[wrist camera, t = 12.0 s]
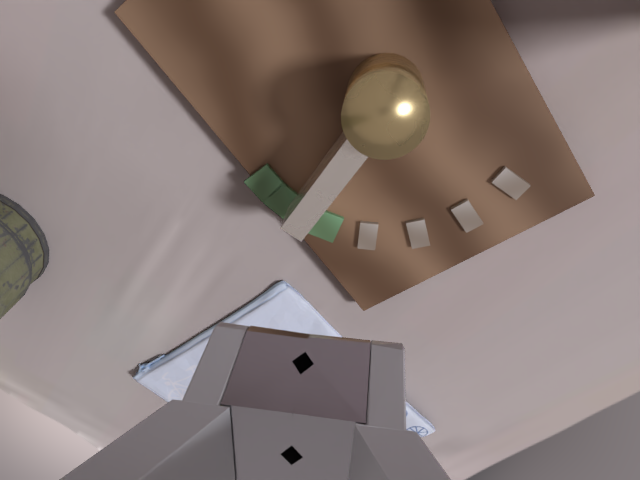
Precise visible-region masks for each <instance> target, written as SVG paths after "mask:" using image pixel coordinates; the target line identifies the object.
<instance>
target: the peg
mask: <svg viewBox="0 0 640 480" xmlns="http://www.w3.org/2000/svg"><path fill="white" fill-rule="evenodd" d="M341 124H342V129H343V132H342V134H341V135H340V137H339V138H338V139H337V141H336V142H335V143H334V145H333V146H332V147H331V149H330V150H329V151H328V153H327V154H326V156H325V157H324V158H323V160H322V161H321V162H320V164H319V165H318V166H317V168H316V169H315V171H314V172H313V173H312V175H311V176H310V177H309V179H308V180H307V181H306V183H305V184H304V186H303V187H302V188H301V190H300V191H299V192H298V194H297V195H296V196H295V198H294V199H293V200H292V202H291V203H290V205H289V206H288V209H287V212H286V214H285V217H284V220H283V223H282V225H281V228H280V229H282V230H283V231H285V232H286V233H288V234H290V235H291V236H293V237H294V238H296V239H298V240H299V241H301V242H302V240H303V239H304V238H305V236H306V235H307V234H308V233H309V231H310V230H311V229H312V228H313V226H314V225H315V224H316V223H317V221H318V220H319V219H320V217H321V216H322V215H323V214H324V212H325V211H326V210H327V209H328V207H329V206H330V205H331V203H332V202H333V201H334V200H335V198H336V197H337V196H338V195H339V193H340V192H341V191H342V190H343V188H344V187H345V186H346V184H347V183H348V182H349V181H350V179H351V178H352V177H353V176H354V174H355V173H356V172H357V171H358V169H359V168H360V167H361V165H362V164H363V163H364V162H365V160H366V159H367V158H368V157H370V158H374V159H379V160H389V159H395V158H399V157H402V156H404V155H406V154H408V153H409V152H411V151H412V150H413V149H415V148H416V147H417V146H418V145H419V144H420V143H421V141H422V140H423V138H424V137H425V135H426V133H427V130H428V128H429V124H430V106H429V102H428V98H427V94H426V90H425V86H424V82H423V78H422V75H421V73H420V71H419V70H418V68H417V67H416V66H415V65H414V63H412V62H411V61H410V60H409V59H407V58H406V57H404V56H401V55H398V54H395V53H380V54H376V55H373V56H370V57H369V58H367V59H365V60H364V61H362V62H361V63H360V64H359V65H358V66H357V67H356V69H355V70H354V72H353V73H352V75H351V77H350V80H349V83H348V87H347V91H346V95H345V98H344V102H343V106H342V111H341Z"/></svg>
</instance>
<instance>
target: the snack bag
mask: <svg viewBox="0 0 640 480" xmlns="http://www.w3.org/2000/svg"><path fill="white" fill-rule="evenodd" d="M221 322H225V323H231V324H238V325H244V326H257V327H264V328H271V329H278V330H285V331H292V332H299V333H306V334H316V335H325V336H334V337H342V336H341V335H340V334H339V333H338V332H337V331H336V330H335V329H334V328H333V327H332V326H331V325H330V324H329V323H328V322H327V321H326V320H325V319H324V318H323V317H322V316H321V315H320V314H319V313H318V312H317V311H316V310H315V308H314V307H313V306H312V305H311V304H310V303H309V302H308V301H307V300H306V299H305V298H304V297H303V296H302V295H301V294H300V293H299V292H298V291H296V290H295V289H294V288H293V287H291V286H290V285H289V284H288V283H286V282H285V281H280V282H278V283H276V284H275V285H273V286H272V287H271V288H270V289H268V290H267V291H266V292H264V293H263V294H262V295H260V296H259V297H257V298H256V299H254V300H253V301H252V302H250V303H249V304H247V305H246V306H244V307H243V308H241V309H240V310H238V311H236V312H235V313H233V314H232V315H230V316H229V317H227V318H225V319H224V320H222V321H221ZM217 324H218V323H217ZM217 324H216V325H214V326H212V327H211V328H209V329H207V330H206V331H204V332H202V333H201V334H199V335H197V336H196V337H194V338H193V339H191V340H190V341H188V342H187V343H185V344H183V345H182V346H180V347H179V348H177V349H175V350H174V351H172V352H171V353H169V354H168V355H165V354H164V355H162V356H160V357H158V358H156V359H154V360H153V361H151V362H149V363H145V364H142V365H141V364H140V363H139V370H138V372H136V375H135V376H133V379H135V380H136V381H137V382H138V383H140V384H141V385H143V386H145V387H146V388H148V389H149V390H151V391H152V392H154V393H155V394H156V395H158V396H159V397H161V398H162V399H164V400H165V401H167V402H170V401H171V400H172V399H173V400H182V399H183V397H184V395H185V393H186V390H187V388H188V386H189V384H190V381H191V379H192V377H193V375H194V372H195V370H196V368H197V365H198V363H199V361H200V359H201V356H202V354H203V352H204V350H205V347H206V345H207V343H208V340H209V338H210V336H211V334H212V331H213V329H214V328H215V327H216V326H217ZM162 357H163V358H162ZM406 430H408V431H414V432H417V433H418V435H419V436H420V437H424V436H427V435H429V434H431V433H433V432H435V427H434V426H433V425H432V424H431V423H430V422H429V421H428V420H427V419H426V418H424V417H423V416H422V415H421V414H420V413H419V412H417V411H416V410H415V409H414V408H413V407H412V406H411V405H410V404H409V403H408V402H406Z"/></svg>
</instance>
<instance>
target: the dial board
mask: <svg viewBox="0 0 640 480" xmlns="http://www.w3.org/2000/svg"><path fill="white" fill-rule="evenodd" d="M114 13H115V14H116V15H117V16H118V17H119V19H120V20H121V21H122V22H123V23H124V25H125V26H126V27H127V28H128V29H129V31H130V32H131V33H132V34H133V35H134V36H135V38H136V39H137V40H138V41H139V42H140V44H141V45H142V46H143V47H144V48H145V50H146V51H147V52H148V53H149V54H150V56H151V57H152V58H153V59H154V60H155V62H156V63H157V64H158V65H159V66H160V68H161V69H162V70H163V71H164V72H165V74H166V75H167V76H168V77H169V78H170V80H171V81H172V82H173V83H174V84H175V86H176V87H177V88H178V89H179V90H180V92H181V93H182V94H183V95H184V96H185V98H186V99H187V100H188V101H189V102H190V104H191V105H192V106H193V107H194V108H195V110H196V111H197V112H198V113H199V114H200V116H201V117H202V118H203V119H204V120H205V122H206V123H207V124H208V125H209V126H210V128H211V129H212V130H213V131H214V132H215V134H216V135H217V136H218V137H219V138H220V140H221V141H222V142H223V143H224V144H225V145H226V147H227V148H228V149H229V150H230V151H231V153H232V154H233V155H234V156H235V157H236V159H237V160H238V161H239V162H240V163H241V165H242V166H243V167H244V168H245V169H246V171H247V172H248V173H249V174H250V175H251V176H250V177H249V178H247V179H246V180H245V181H244V183H245V184H246V185H247V186H248V187H249V188H250V189H251V190H252V192H253V193H254V194H255V195H256V196H257V197H258V198H259V199H260V200H261V201H262V202H263V203H264V204H265V205H266V206H268V207H269V208H270V209H271V210H273V211H274V212H275V213H276V214H278V215H279V216H280V217H281V218H283V219H284V217H285V214H286V212H287V209H288V206H289V205H290V203H291V202H292V200H293V199H294V198H295V196H296V195H297V194H298V192H299V191H300V190H301V188H302V187H303V186H304V184H305V183H306V181H307V180H308V179H309V177H310V176H311V175H312V173H313V172H314V171H315V169H316V168H317V166H318V165H319V164H320V162H321V161H322V160H323V158H324V157H325V156H326V154H327V153H328V151H329V150H330V149H331V147H332V146H333V145H334V143H335V142H336V141H337V139H338V138H339V137H340V135H341V134H342V132H343V129H342V124H341V111H342V106H343V102H344V98H345V95H346V91H347V87H348V83H349V80H350V77H351V75H352V73H353V72H354V70H355V69H356V67H357V66H358V65H359V64H360V63H361V62H362V61H364V60H365V59H367V58H369V57H370V56H373V55H376V54H380V53H395V54H398V55H401V56H404V57H406V58H407V59H409V60H410V61H411V62H412V63H414V65H415V66H416V67H417V68H418V70H419V71H420V73H421V75H422V78H423V82H424V86H425V90H426V94H427V98H428V102H429V106H430V124H429V128H428V130H427V133H426V135H425V137H424V138H423V140H422V141H421V143H420V144H419V145H418V146H417V147H416V148H415V149H413V150H412V151H411V152H409V153H408V154H406V155H404V156H402V157H399V158H395V159H389V160H379V159H374V158H370V157H368V158H367V159H366V160H365V162H364V163H363V164H362V165H361V167H360V168H359V169H358V171H357V172H356V173H355V174H354V176H353V177H352V178H351V179H350V181H349V182H348V183H347V184H346V186H345V187H344V188H343V190H342V191H341V192H340V193H339V195H338V196H337V197H336V198H335V200H334V201H333V202H332V203H331V205H330V206H329V207H328V209H327V210H326V211H325V212H324V214H323V215H322V216H321V217H320V219H319V220H318V221H317V223H316V224H315V225H314V226H313V228H312V229H311V230H310V231H309V233H308V234H307V235H306V236H305V238H304V240H305V241H306V243H307V244H308V245H309V246H310V247H311V248H312V250H313V251H314V252H315V253H316V254H317V256H318V257H319V258H320V259H321V260H322V262H323V263H324V264H325V265H326V266H327V268H328V269H329V270H330V271H331V272H332V274H333V275H334V276H335V277H336V278H337V280H338V281H339V282H340V283H341V284H342V286H343V287H344V288H345V289H346V290H347V292H348V293H349V294H350V295H351V296H352V298H353V299H354V300H355V301H356V302H357V304H358V305H359V306H360V307H361V308H362V310H363V311H364V310H366V309H368V308H370V307H372V306H374V305H376V304H378V303H380V302H382V301H384V300H386V299H388V298H390V297H393V296H395V295H397V294H399V293H401V292H403V291H405V290H407V289H409V288H411V287H413V286H415V285H417V284H419V283H421V282H423V281H425V280H427V279H429V278H431V277H433V276H435V275H437V274H439V273H441V272H443V271H445V270H447V269H449V268H451V267H453V266H455V265H457V264H459V263H461V262H463V261H465V260H467V259H469V258H471V257H473V256H475V255H477V254H479V253H481V252H483V251H485V250H487V249H489V248H491V247H493V246H495V245H497V244H499V243H501V242H503V241H505V240H507V239H509V238H511V237H513V236H515V235H517V234H519V233H521V232H523V231H525V230H527V229H529V228H531V227H533V226H535V225H537V224H539V223H541V222H543V221H545V220H547V219H549V218H551V217H553V216H555V215H557V214H559V213H561V212H563V211H565V210H567V209H569V208H571V207H573V206H575V205H577V204H579V203H581V202H583V201H585V200H587V199H589V198H591V197H593V196H595V195H594V193H593V191H592V189H591V187H590V185H589V184H588V182H587V180H586V178H585V176H584V174H583V172H582V170H581V169H580V167H579V165H578V163H577V161H576V159H575V157H574V156H573V154H572V152H571V150H570V148H569V146H568V144H567V142H566V141H565V139H564V137H563V135H562V133H561V131H560V129H559V128H558V126H557V124H556V122H555V120H554V118H553V116H552V114H551V113H550V111H549V109H548V107H547V105H546V103H545V101H544V100H543V98H542V96H541V94H540V92H539V90H538V88H537V86H536V85H535V83H534V81H533V79H532V77H531V75H530V73H529V72H528V70H527V68H526V66H525V64H524V62H523V60H522V58H521V57H520V55H519V53H518V51H517V49H516V47H515V45H514V43H513V42H512V40H511V38H510V36H509V34H508V32H507V30H506V29H505V27H504V25H503V23H502V21H501V19H500V17H499V15H498V14H497V12H496V10H495V8H494V6H493V4H492V2H491V1H490V0H126V1H125V2H124V3H123V4H122V5H121V6H120V7H119V8H118V9H117V10H116V11H115V12H114Z"/></svg>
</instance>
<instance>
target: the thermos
mask: <svg viewBox="0 0 640 480" xmlns="http://www.w3.org/2000/svg"><path fill="white" fill-rule="evenodd" d="M48 261H49V248H48V244H47V241H46V238H45V235H44V233H43V232H42V230H41V228H40V227H39V225H38V224H37V222H36V221H35V219H34V218H33V217H32V216H31V215H30V214H28V213H27V212H26V211H25V210H24V209H23V208H22V207H21V206H20V205H18V204H17V203H15V202H14V201H12V200H10V199H9V198H7V197H5V196H4V195H1V194H0V319H1V318H2V317H3V316H4V315H5V314H6V313H7V312H8V311H9V310H10V309H11V308H12V307H13V306H14V305H15V304H16V303H17V302H18V301H19V300H20V299H21V298H22V297H23V296H24V295H25V293H26V291H27V289H28V287H29V285H30V284H31V283H32V282H34V281H35V280H36V279H38V278H39V277H40V276H41V275H42V274H43V272H44V270H45V268H46V267H47V265H48Z"/></svg>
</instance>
